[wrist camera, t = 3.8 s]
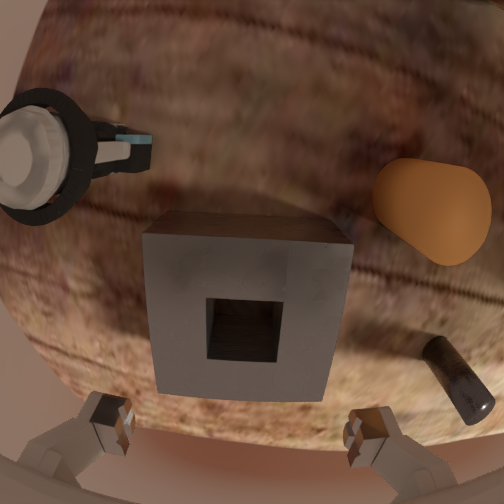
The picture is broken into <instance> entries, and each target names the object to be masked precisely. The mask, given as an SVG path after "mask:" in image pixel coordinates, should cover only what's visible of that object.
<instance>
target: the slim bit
mask: <svg viewBox="0 0 504 504" xmlns="http://www.w3.org/2000/svg"><path fill="white" fill-rule="evenodd" d="M422 356H423V359H424V360H425V362H426V363H427V365H428V366H429V368H430V369H431V371H432V372H433V374H434V375H435V377H436V378H437V380H438V381H439V383H440V384H441V386H442V387H443V389H444V390H445V392H446V393H447V395H448V397H449V398H450V400H451V401H452V403H453V404H454V406H455V408H456V409H457V411H458V412H459V414H460V416H461V417H462V419H463V421H464V422H465V424H466V425H469V426H470V425H474V424H476V423H478V422H480V421H481V420H483V419H484V418H485V417H486V416H487V415H488V414H489V413H490V412H491V411H492V409H493V407H494V405H495V399H494V397H493V396H492V395H491V393H490V392H489V391H488V389H487V388H486V387H485V385H484V384H483V383H482V382H481V380H480V379H479V378H478V376H477V375H476V374H475V373H474V371H473V370H472V369H471V368H470V366H469V365H468V364H467V363H466V361H465V360H464V359H463V358H462V356H461V355H460V354H459V353H458V352H457V350H456V349H455V348H454V347H453V346H452V344H451V343H450V342H449V341H448V340H447V338H446V337H443V336H439V337H435V338H434V339H432V340H431V341H429V342H428V343H427V345H426V346H425V348H424V350H423V353H422Z"/></svg>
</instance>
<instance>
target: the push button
mask: <svg viewBox="0 0 504 504" xmlns="http://www.w3.org/2000/svg"><path fill="white" fill-rule="evenodd" d="M49 106H51V107H53V108H54V109H55V110H56V111H58V112H59V113H55V112H48V110H46V109H44V108H46V107H49ZM117 126H125V124H118V123H106V122H97V121H91V120H90V119H89V118H88V117H87V116H86V114H85V113H84V112H83V111H82V110H81V109H80V108H79V106H78V105H77V104H76V103H75V102H74V101H73V100H72V99H71V98H69V97H68V96H67V95H65V94H64V93H62V92H60V91H57V90H53V89H48V88H35V89H31V90H28V91H25V92H23V93H21V94H20V95H18V96H17V97H16V98H14V99H13V100H12V101H11V102H10V103H9V104H8V105H7V106H6V108H4V110H3V111H2V113H1V114H0V206H1V207H2V209H3V210H4V211H5V212H6V213H7V214H8V215H9V216H10V217H11V218H13V219H14V220H16V221H18V222H20V223H22V224H25V225H30V226H39V225H44V224H47V223H50V222H52V221H54V220H56V219H58V218H60V217H61V216H63V215H64V214H65V213H66V212H67V211H68V210H69V209H70V208H71V207H72V206H73V205H74V204H75V203H77V202H78V200H79V199H80V198H81V197H82V195H83V194H84V193H85V192H86V190H87V189H88V188H89V186H90V183H91V179H95V178H99V177H103V176H106V175H109V174H117V173H121V172H126V173H138V172H142V171H145V170H149V169H150V159H151V147H152V135H126V129H127V128H126V127H117ZM60 193H61V194H60ZM57 194H60V195H59V197H58V198H57V199H56V200H55V201H54V202H53V203H46V202H47V201H48V200H49V199H50V197H51V196H54V195H57Z"/></svg>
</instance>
